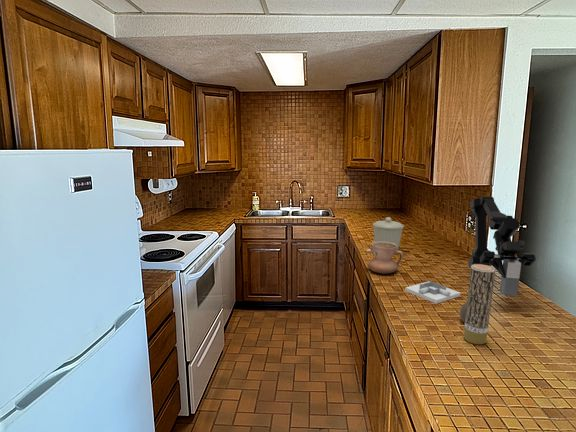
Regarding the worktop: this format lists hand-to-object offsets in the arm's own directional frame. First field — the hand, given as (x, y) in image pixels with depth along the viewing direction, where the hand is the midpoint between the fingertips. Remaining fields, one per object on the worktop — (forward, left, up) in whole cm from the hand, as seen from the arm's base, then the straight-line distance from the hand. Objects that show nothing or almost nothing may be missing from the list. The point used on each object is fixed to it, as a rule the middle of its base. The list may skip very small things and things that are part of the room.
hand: (511, 278), depth 145 cm
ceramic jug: (-20, -55, -14) cm, 60 cm away
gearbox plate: (-3, -28, -13) cm, 32 cm away
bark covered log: (+32, -8, -14) cm, 36 cm away
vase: (+19, -11, -14) cm, 26 cm away
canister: (-58, -65, -14) cm, 88 cm away
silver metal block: (-1, -1, -7) cm, 7 cm away
